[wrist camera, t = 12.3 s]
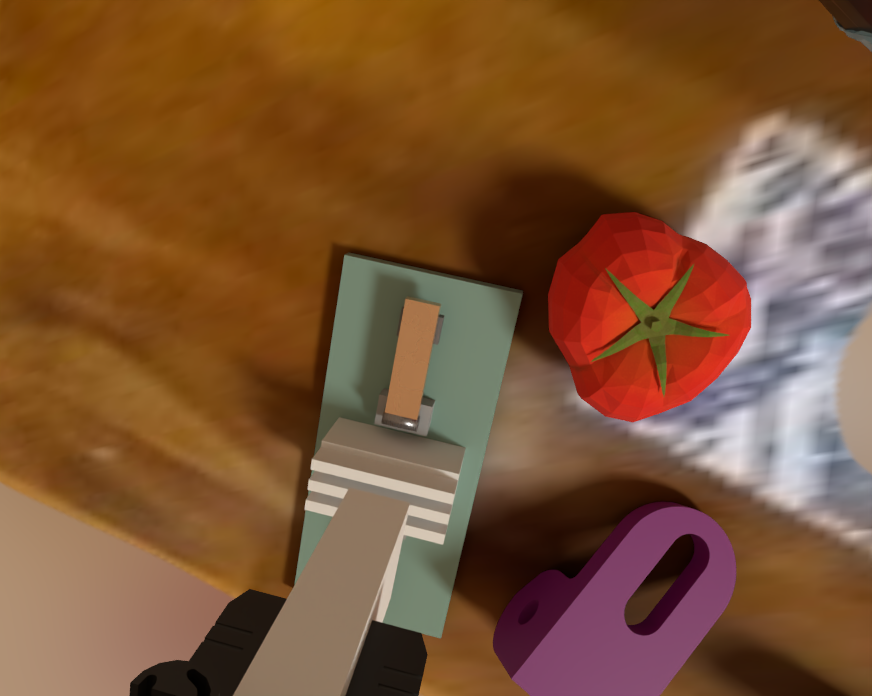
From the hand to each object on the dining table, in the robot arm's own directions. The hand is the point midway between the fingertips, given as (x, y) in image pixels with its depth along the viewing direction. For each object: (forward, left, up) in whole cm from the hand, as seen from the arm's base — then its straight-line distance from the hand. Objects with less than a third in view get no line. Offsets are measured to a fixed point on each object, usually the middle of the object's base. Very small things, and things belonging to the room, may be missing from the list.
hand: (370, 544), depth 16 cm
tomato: (-1, +11, -35) cm, 36 cm away
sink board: (+15, -4, -34) cm, 38 cm away
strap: (+6, -4, -31) cm, 32 cm away
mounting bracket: (+21, +16, -35) cm, 44 cm away
